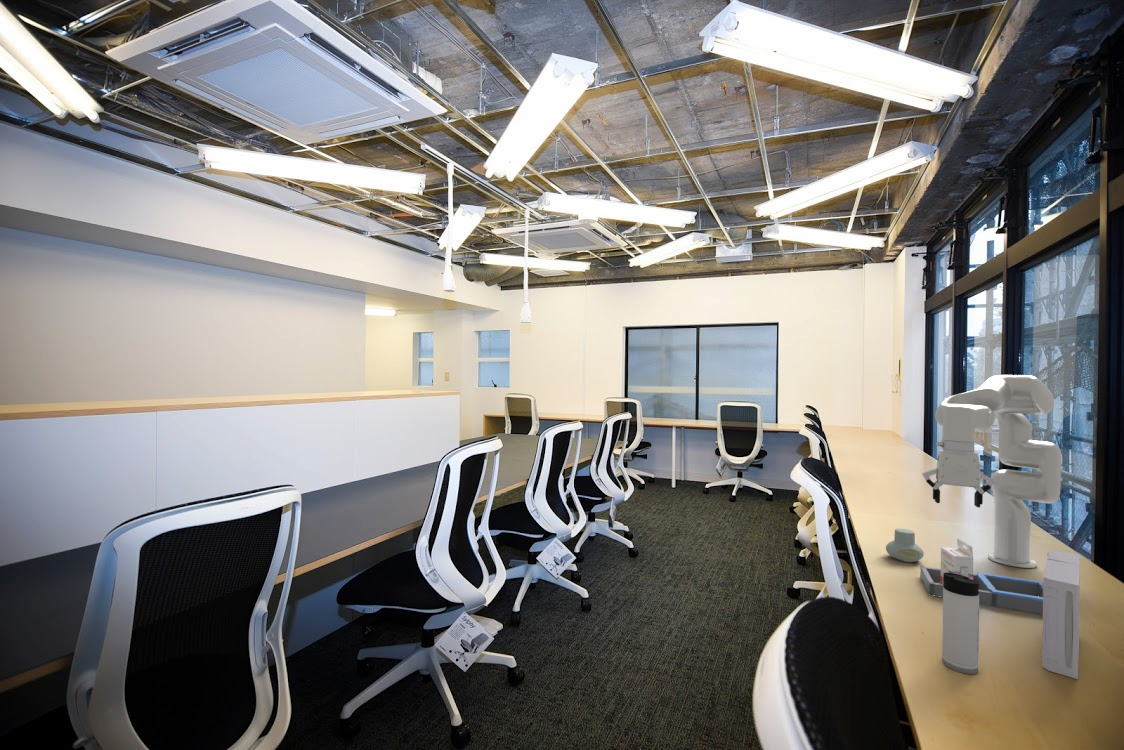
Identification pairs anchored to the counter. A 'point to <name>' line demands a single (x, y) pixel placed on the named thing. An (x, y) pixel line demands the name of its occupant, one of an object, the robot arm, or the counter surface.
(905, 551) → the air freshener
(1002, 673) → the counter surface
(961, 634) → the travel mug
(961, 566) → the ink cartridge box
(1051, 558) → the game console
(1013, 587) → the organiser
